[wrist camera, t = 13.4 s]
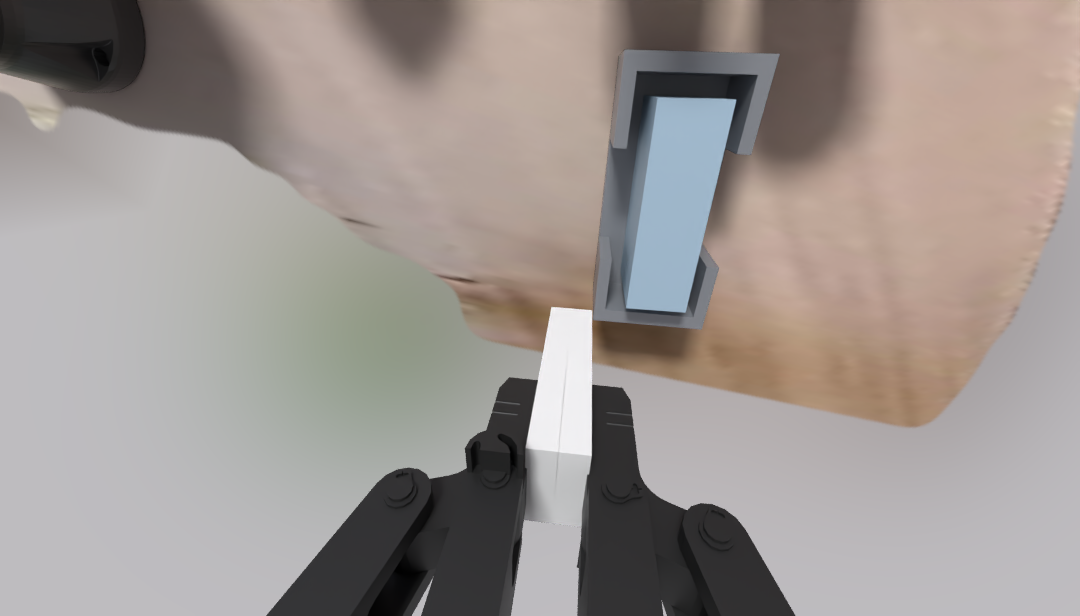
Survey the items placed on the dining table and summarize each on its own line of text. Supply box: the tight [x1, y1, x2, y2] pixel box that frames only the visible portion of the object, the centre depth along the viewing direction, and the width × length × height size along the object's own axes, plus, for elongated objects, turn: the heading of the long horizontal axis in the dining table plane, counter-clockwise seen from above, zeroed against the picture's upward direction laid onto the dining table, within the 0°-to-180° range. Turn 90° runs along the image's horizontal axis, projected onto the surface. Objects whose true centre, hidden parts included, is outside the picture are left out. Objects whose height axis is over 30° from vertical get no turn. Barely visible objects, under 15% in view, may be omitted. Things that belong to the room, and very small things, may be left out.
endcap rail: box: [593, 49, 780, 329], centre depth 34 cm, size 10×21×7 cm, turn 178°
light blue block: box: [620, 95, 736, 313], centre depth 33 cm, size 5×16×8 cm, turn 178°
